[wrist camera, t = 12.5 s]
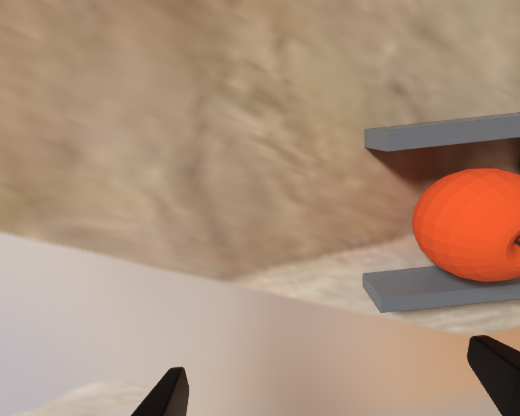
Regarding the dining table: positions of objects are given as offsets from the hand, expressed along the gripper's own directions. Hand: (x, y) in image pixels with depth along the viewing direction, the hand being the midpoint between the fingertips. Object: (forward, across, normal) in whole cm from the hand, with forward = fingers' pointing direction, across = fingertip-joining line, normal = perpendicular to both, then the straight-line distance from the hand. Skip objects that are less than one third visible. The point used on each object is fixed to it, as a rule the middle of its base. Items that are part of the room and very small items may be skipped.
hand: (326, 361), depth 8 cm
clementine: (+12, -12, 0) cm, 17 cm away
